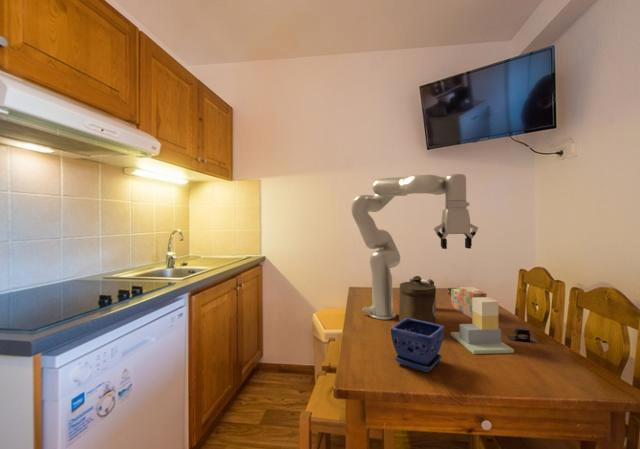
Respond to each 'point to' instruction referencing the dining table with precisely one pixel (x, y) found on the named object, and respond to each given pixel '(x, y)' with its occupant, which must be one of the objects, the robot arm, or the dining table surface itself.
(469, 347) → the green plate
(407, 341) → the flower pot
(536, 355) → the dining table surface
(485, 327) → the mustard brick
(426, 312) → the wooden container
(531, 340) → the black piece
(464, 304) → the stack of blocks
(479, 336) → the slate-blue long brick
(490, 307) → the cream brick
